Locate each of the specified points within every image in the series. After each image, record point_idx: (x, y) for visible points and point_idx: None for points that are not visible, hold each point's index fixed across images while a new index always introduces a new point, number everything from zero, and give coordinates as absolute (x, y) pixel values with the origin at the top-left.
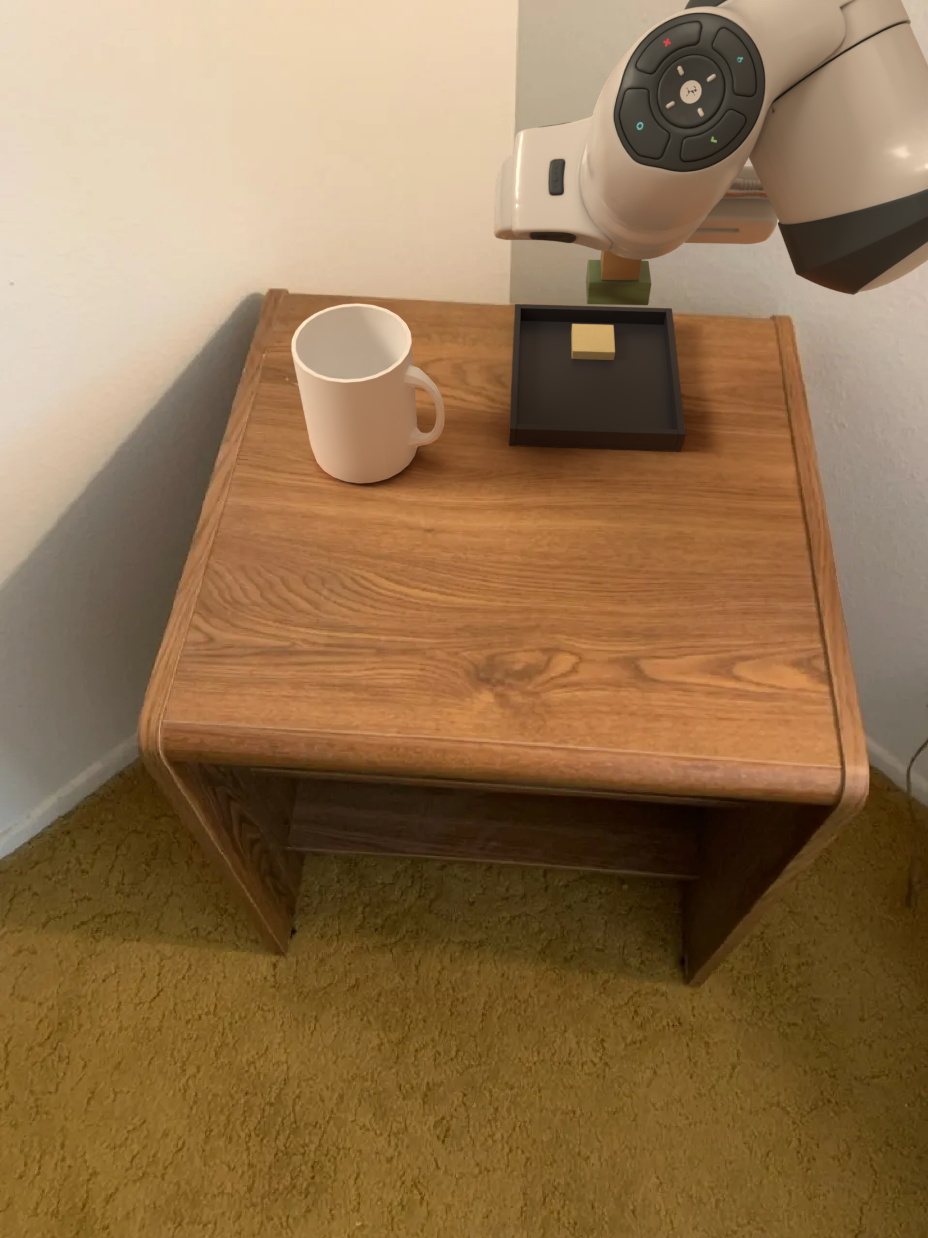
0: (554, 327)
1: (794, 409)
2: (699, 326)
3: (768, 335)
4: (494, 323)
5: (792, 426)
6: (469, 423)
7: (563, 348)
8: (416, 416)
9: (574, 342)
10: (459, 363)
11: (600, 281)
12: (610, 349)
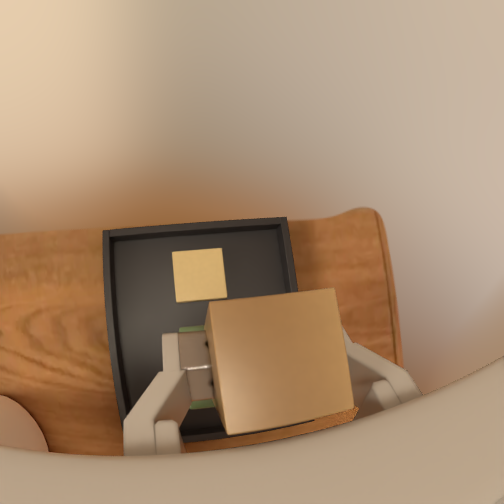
0: (152, 249)
1: (397, 329)
2: (311, 221)
3: (372, 229)
4: (87, 243)
5: (396, 352)
6: (84, 408)
7: (165, 285)
8: (32, 449)
9: (177, 286)
10: (57, 315)
11: (211, 404)
12: (221, 293)
